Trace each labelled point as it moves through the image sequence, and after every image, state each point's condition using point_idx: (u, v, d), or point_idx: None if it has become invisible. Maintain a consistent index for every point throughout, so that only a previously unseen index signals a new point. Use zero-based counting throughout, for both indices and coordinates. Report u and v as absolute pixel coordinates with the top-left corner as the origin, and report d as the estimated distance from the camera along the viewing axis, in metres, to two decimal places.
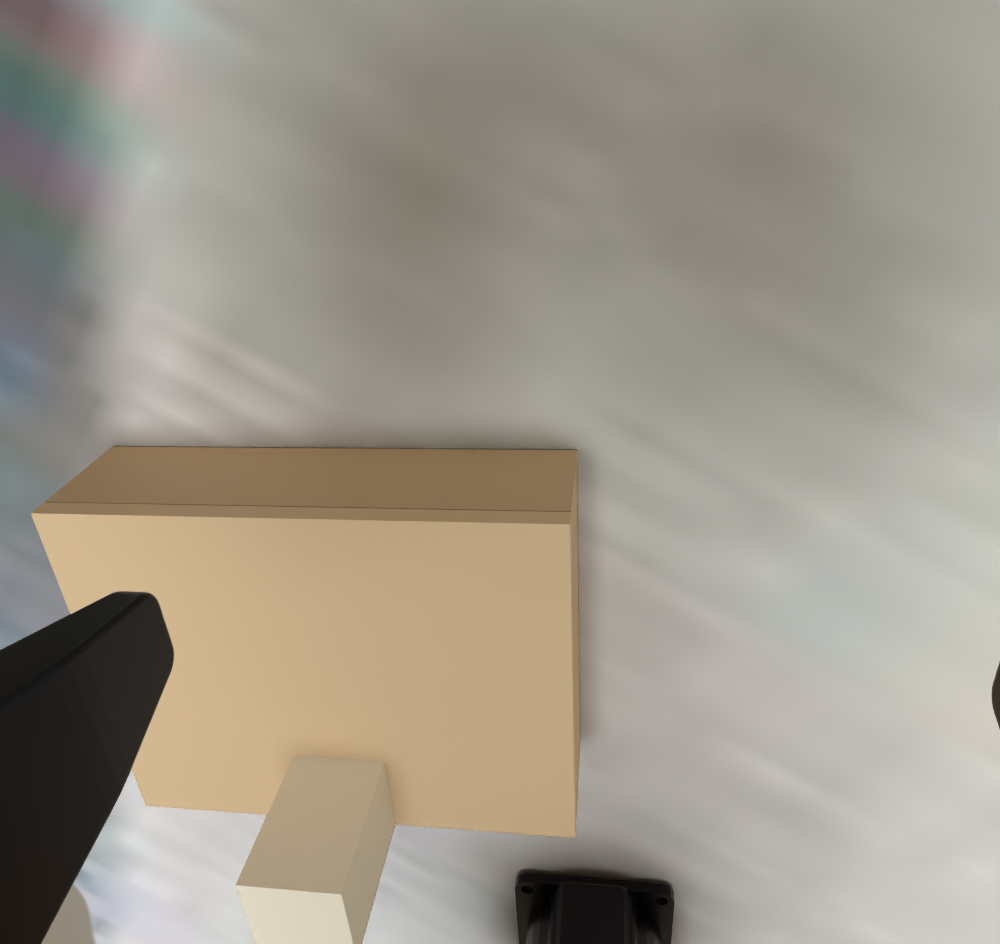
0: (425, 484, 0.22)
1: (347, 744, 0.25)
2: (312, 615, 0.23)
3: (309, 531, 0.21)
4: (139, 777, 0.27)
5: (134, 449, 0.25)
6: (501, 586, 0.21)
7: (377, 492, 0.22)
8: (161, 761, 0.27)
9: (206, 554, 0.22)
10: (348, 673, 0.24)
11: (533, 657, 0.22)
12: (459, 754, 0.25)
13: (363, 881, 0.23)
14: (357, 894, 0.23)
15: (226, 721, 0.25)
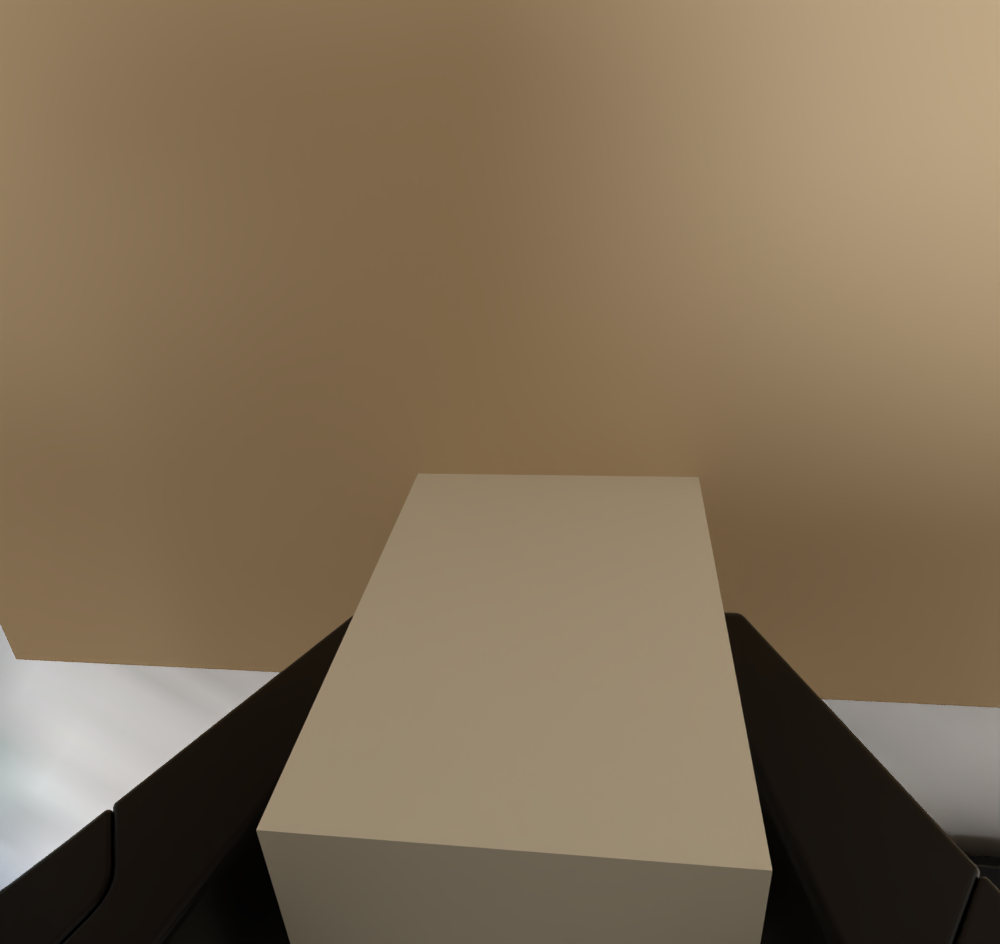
0: None
1: (590, 419, 0.08)
2: None
3: None
4: None
5: None
6: None
7: None
8: (42, 518, 0.10)
9: None
10: (650, 94, 0.07)
11: None
12: (962, 433, 0.08)
13: None
14: None
15: (219, 358, 0.08)
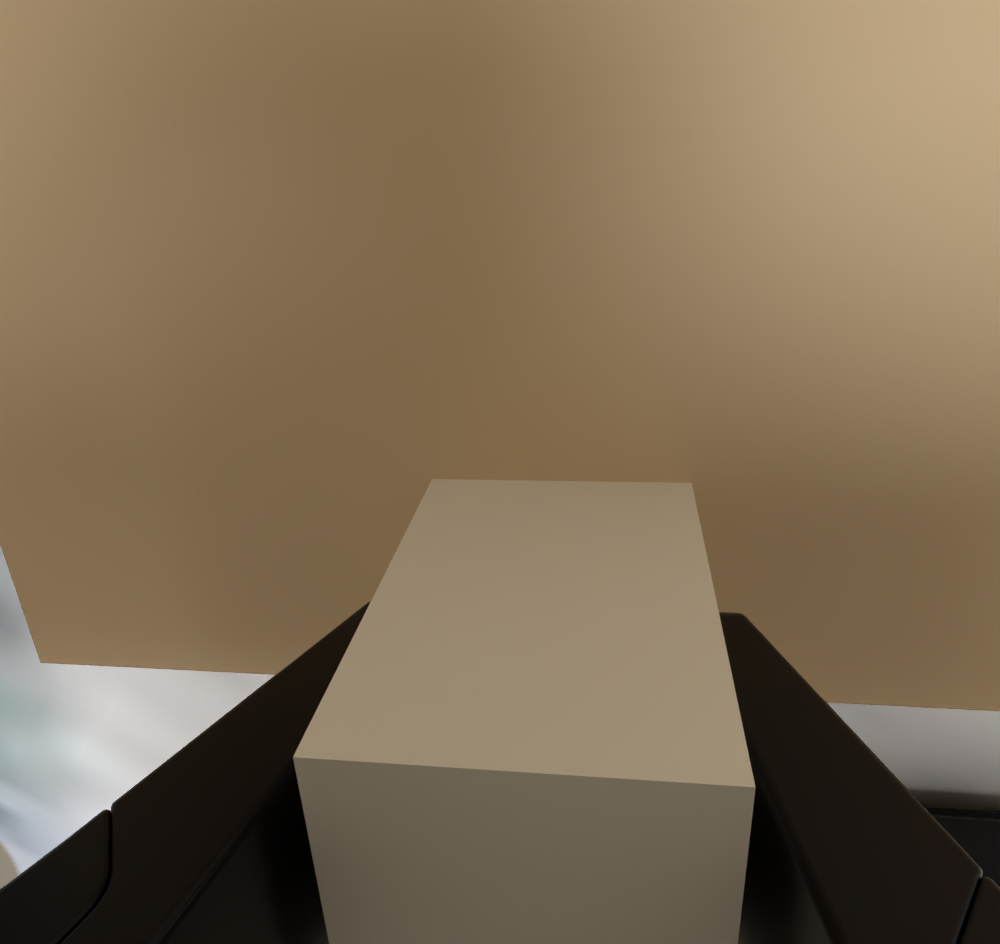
0: None
1: (591, 428, 0.09)
2: None
3: None
4: (23, 577, 0.11)
5: None
6: None
7: None
8: (77, 522, 0.10)
9: None
10: (645, 135, 0.08)
11: None
12: (932, 442, 0.08)
13: None
14: None
15: (253, 370, 0.09)
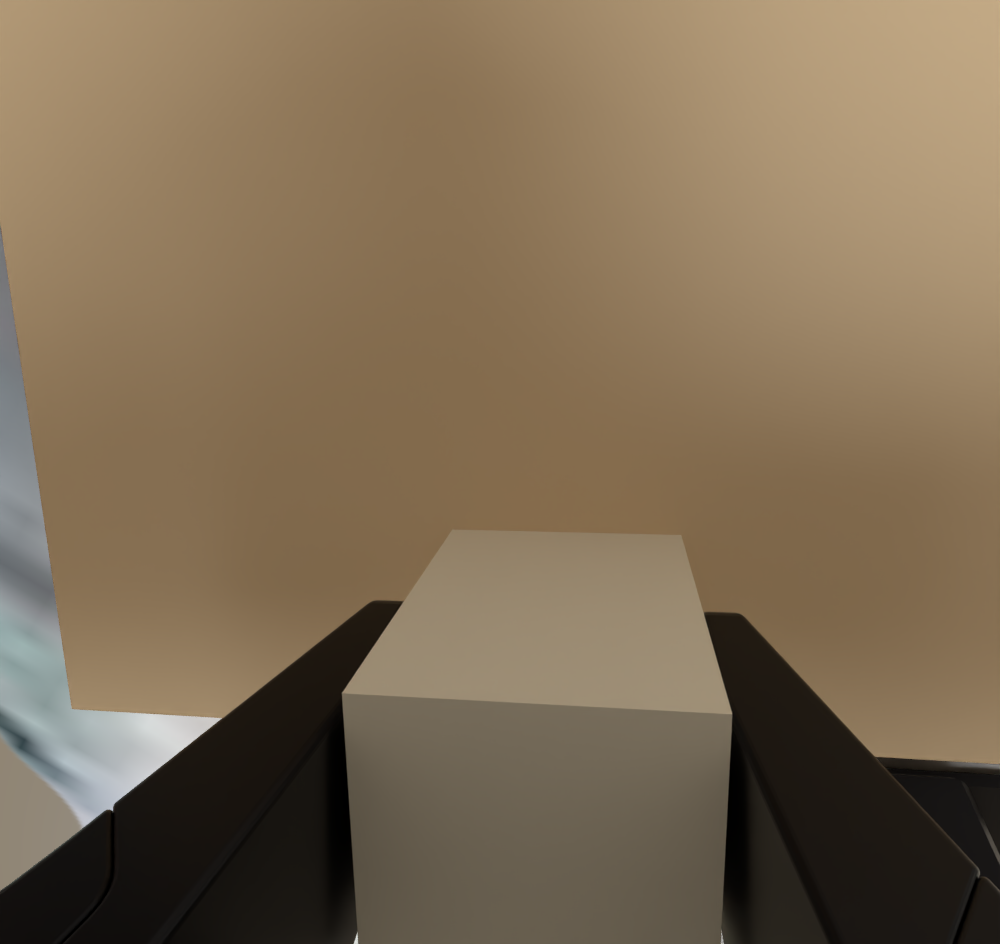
0: None
1: (593, 483, 0.10)
2: (576, 53, 0.09)
3: None
4: (69, 621, 0.12)
5: None
6: None
7: None
8: (128, 568, 0.11)
9: None
10: (638, 242, 0.10)
11: None
12: (887, 499, 0.10)
13: None
14: None
15: (303, 429, 0.11)
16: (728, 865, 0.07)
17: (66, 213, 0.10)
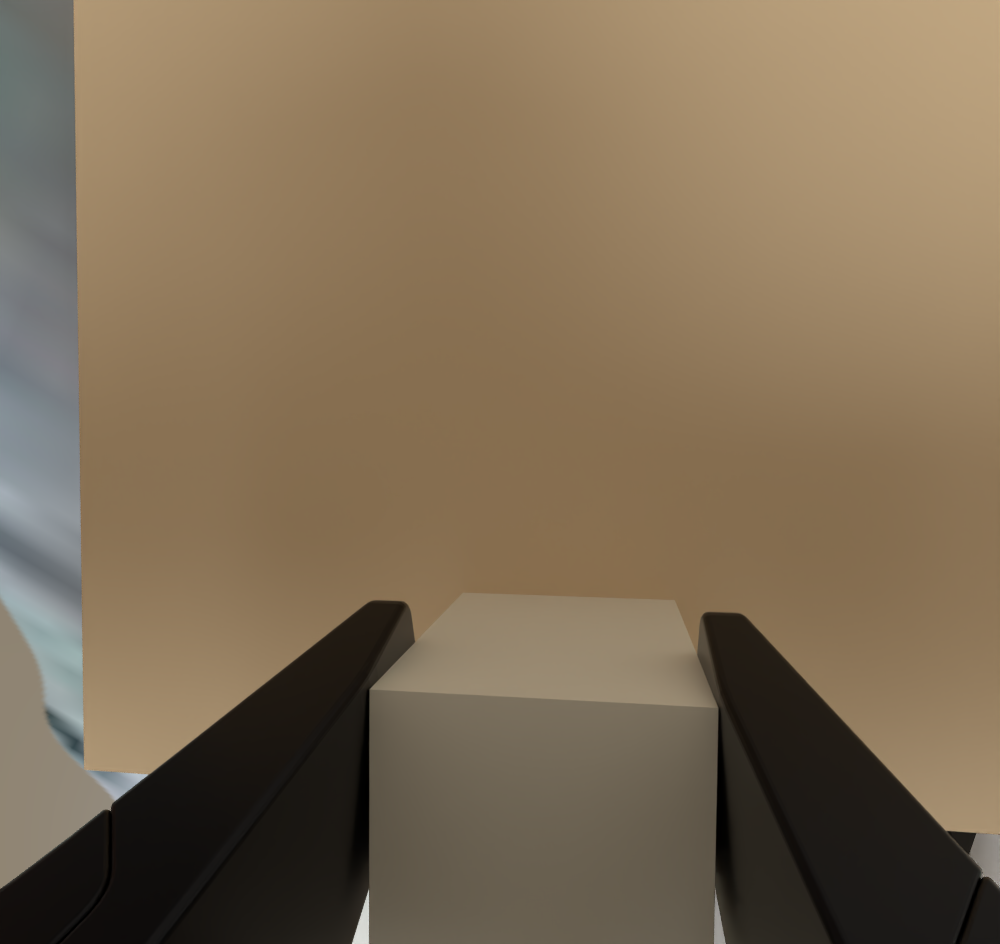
0: None
1: (594, 551, 0.11)
2: (582, 185, 0.11)
3: None
4: (93, 679, 0.12)
5: None
6: None
7: None
8: (155, 627, 0.12)
9: (391, 47, 0.11)
10: (633, 337, 0.11)
11: None
12: (862, 568, 0.11)
13: None
14: None
15: (330, 497, 0.12)
16: (730, 865, 0.07)
17: (137, 305, 0.12)
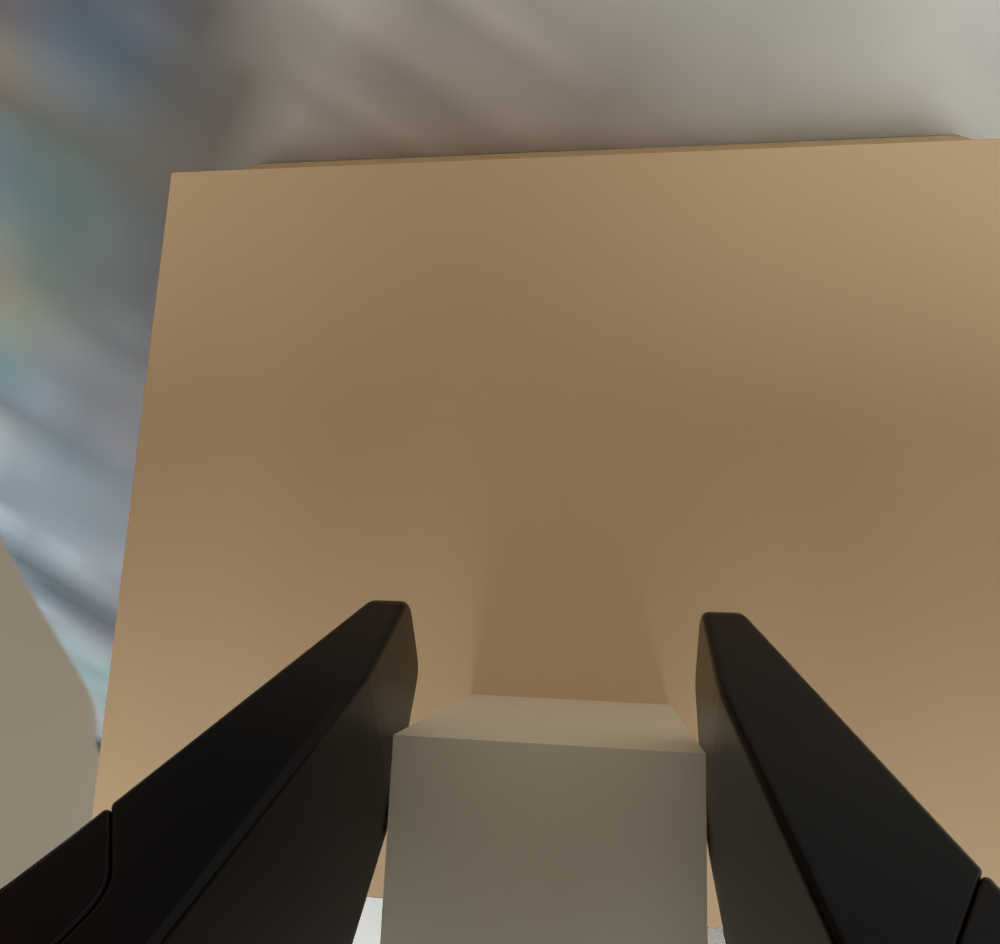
0: None
1: (594, 655, 0.12)
2: (584, 335, 0.13)
3: (612, 176, 0.13)
4: (107, 776, 0.13)
5: (293, 163, 0.18)
6: (938, 257, 0.12)
7: None
8: (174, 723, 0.13)
9: (428, 226, 0.14)
10: (629, 463, 0.13)
11: None
12: (842, 677, 0.12)
13: None
14: None
15: (351, 600, 0.13)
16: (729, 865, 0.07)
17: (193, 426, 0.14)
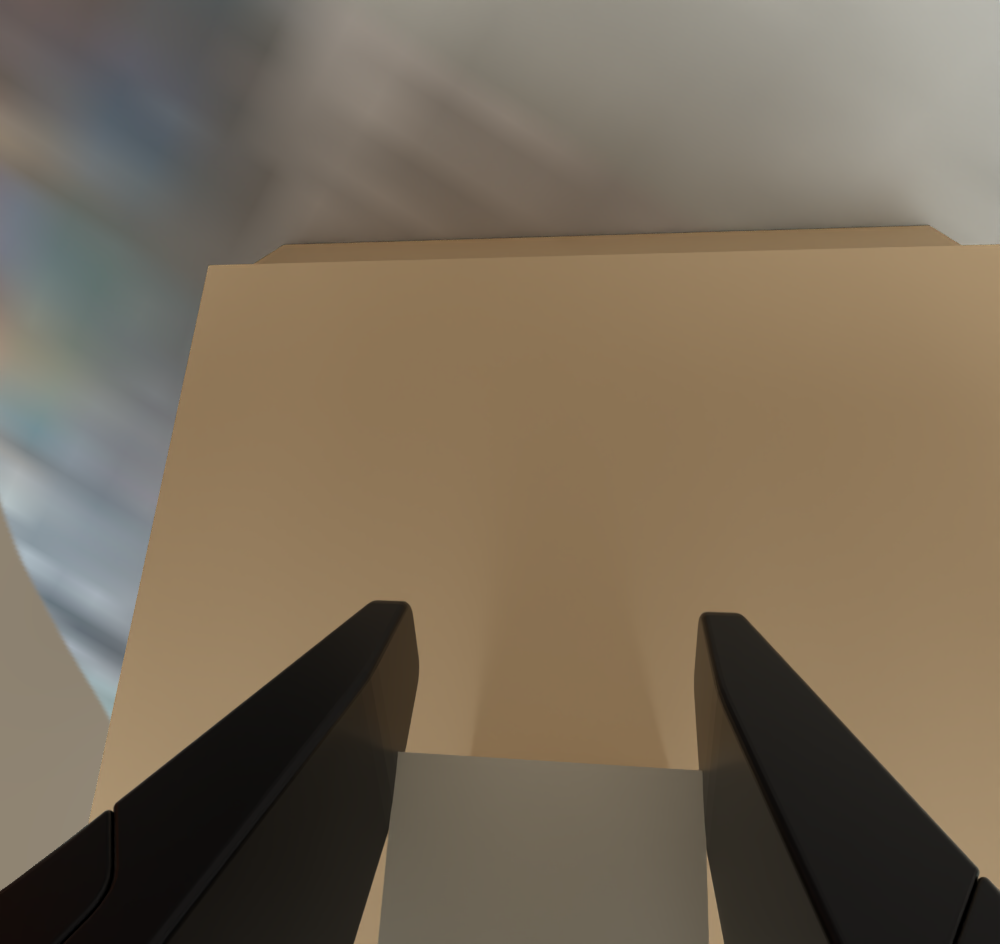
0: None
1: (593, 718, 0.12)
2: (585, 412, 0.14)
3: (611, 272, 0.15)
4: None
5: (315, 245, 0.19)
6: (912, 345, 0.14)
7: None
8: None
9: (442, 313, 0.15)
10: (627, 529, 0.13)
11: (980, 481, 0.13)
12: None
13: None
14: None
15: None
16: (728, 865, 0.07)
17: (210, 491, 0.14)
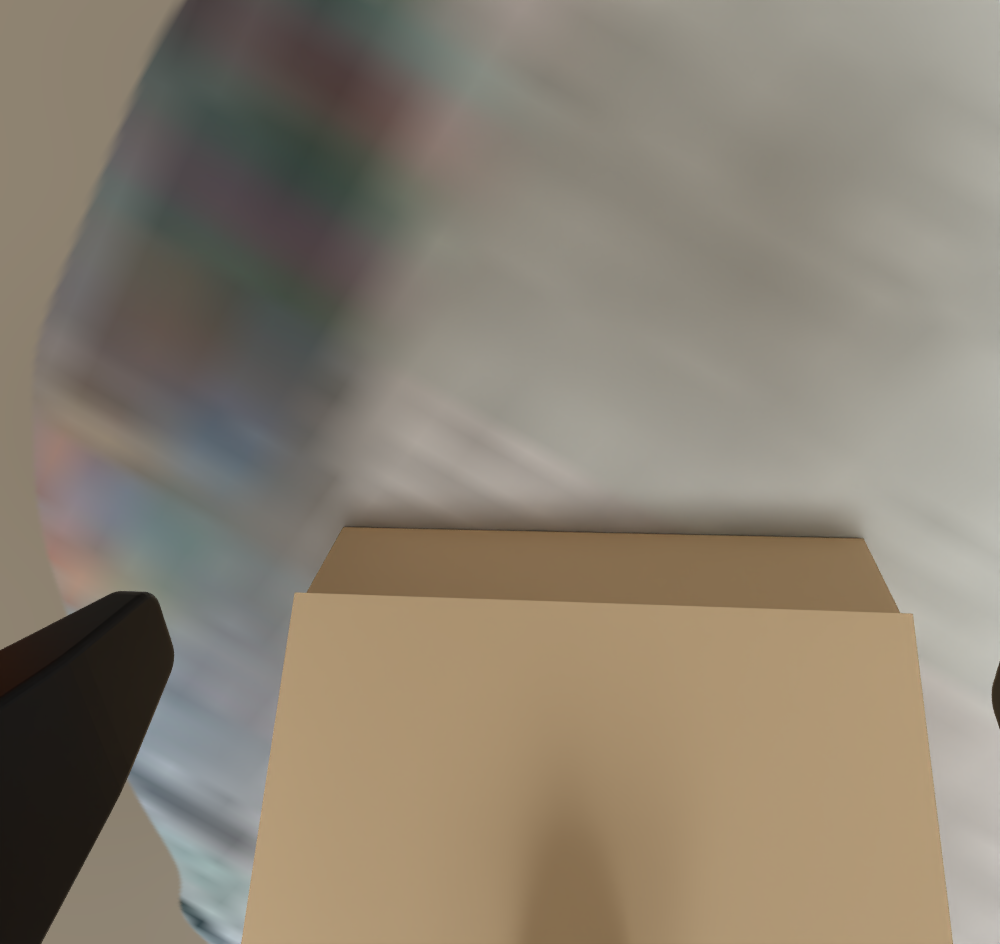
0: (718, 580, 0.21)
1: None
2: (590, 742, 0.18)
3: (609, 619, 0.19)
4: None
5: (369, 531, 0.24)
6: (836, 698, 0.18)
7: (670, 591, 0.20)
8: None
9: (479, 648, 0.19)
10: (622, 845, 0.17)
11: (883, 817, 0.17)
12: None
13: None
14: None
15: None
16: None
17: (303, 795, 0.19)
